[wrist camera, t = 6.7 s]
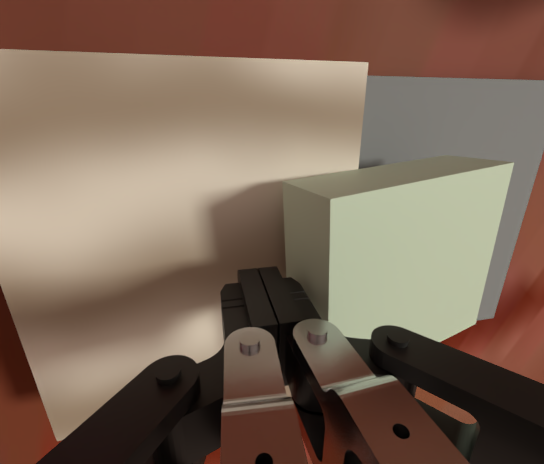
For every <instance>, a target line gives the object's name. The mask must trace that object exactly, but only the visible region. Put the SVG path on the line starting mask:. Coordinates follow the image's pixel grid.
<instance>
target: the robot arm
mask: <svg viewBox="0 0 544 464" xmlns="http://www.w3.org/2000/svg"><path fill="white" fill-rule="evenodd" d="M237 276H238V283H230V284H225V285H224V287H223V288H222V290H221V291H220V296H221V312H222V327H223V337H224V344H223V346H222V348H221V349H220V350H219V351H218V353H216V354H215V355H214V356H212V357H210V358H209V359H206V360H204V361H202V362H199V363H196V362H195V361H194V360H193V359H192V358H190V357H187V356H183V355H170V356H166V357H163V358H160V359H158V360H156V361H154V362H153V363H151V364H150V365H149V366H147V367H146V368H145V369H144V370H143V371H142V372H140V373H139V374H138V375H137V376H136V377H135V378H134V379H132V380H131V381H130V382H129V383H128V384H127V385H126V386H124V387H123V388H122V389H121V390H120V391H119V392H118V393H116V394H115V395H114V396H113V397H112V398H111V399H110V400H108V401H107V402H106V403H105V404H104V405H103V406H101V407H100V408H99V409H98V410H97V411H96V412H95V413H93V414H92V415H91V416H90V417H89V418H88V419H87V420H85V421H84V422H83V423H82V424H81V425H80V426H79V427H77V428H76V429H75V430H74V431H73V432H72V433H71V434H69V435H68V436H67V437H66V438H65V439H64V440H62V441H61V442H60V443H59V444H58V445H57V446H56V447H54V448H53V449H52V450H51V451H50V452H49V453H48V454H46V455H45V456H44V457H43V458H42V459H41V460H40V461H38V462H37V463H36V464H204V461H205V459H206V455H208V454H209V453H211V452H213V451H215V450H216V449H218V448H220V447H221V456H220V464H308V461H307V457H306V453H305V448H304V444H303V441H304V443H305V446H306V448H307V451H308V453H309V456H310V458H311V461H312V463H313V464H544V384H542V383H539V382H537V381H534V380H532V379H529V378H527V377H524V376H522V375H519V374H517V373H514V372H512V371H509V370H507V369H504V368H502V367H499V366H497V365H494V364H492V363H489V362H487V361H485V360H482V359H480V358H477V357H475V356H472V355H470V354H467V353H465V352H462V351H460V350H457V349H455V348H452V347H450V346H447V345H445V344H442V343H440V342H437V341H435V340H432V339H430V338H427V337H425V336H422V335H420V334H417V333H415V332H412V331H410V330H407V329H405V328H402V327H398V326H393V325H384V326H380V327H377V328H375V329H374V330H373V332H372V334H371V339H361V338H351V337H346V336H344V335H343V334H342V333H341V331H340V330H339V329H338V328H337V327H336V326H335V325H334V324H332V323H330V322H328V321H325V320H322V319H321V317H320V315H319V314H318V312H317V311H316V309H315V307H314V306H313V304H312V302H311V301H310V299H309V297H308V296H307V294H306V293H305V291H304V289H303V287H302V286H301V284H300V283H299V282H297V281H296V280H294V279H293V278H291V277H288V278H282V276H281V274H280V272H279V270H278V268H277V266H273V267H262V268H252V269H241V270H238V272H237ZM287 385H288V386H289V389H290V392H291V397H287V395H286V390H285V386H287ZM417 386H418V387H420V388H421V389H423V390H425V391H427V392H429V393H431V394H433V395H435V396H437V397H439V398H441V399H443V400H445V401H447V402H449V403H451V404H453V405H455V406H457V407H459V408H461V409H463V410H465V411H467V412H469V413H470V414H471V415H472V416H474V418H475V419H476V420H477V422H476V423H474V424H465V423H462V422H460V421H458V420H456V419H454V418H452V417H450V416H448V415H446V414H444V413H443V412H441V411H439V410H437V409H435V408H433V407H431V406H429V405H427V404H425V403H423V402H422V401H420V400H418V399H416V398H414V397H415V392H416V388H417ZM302 438H303V440H302Z"/></svg>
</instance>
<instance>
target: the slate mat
mask: <svg viewBox="0 0 544 464" xmlns="http://www.w3.org/2000/svg"><path fill="white" fill-rule="evenodd" d="M543 151H544V80H509V79H471V78H434V77H396V76H367V83H366V93H365V104H364V114H363V125H362V135H361V146H360V157H359V167H358V169H362V168H369V167H375V166H381V165H387V164H394V163H400V162H406V161H412V160H418V159H425V158H431V157H437V156H443V155H450V156H459V157H469V158H478V159H488V160H497V161H506V162H514V166H513V170H512V174H511V178H510V183H509V187H508V191H507V195H506V199H505V203H504V208H503V212H502V216H501V220H500V224H499V228H498V233H497V237H496V241H495V245H494V249H493V253H492V258H491V262H490V266H489V270H488V274H487V278H486V283H485V287H484V291H483V295H482V299H481V303H480V308H479V312H478V316H477V320H483V319H489V318H494V314H495V311H496V308H497V304H498V301H499V298H500V294H501V291H502V288H503V284H504V281H505V278H506V274H507V271H508V267H509V264H510V261H511V257H512V254H513V251H514V247H515V244H516V241H517V237H518V234H519V231H520V227H521V224H522V221H523V217H524V214H525V211H526V207H527V204H528V201H529V197H530V194H531V191H532V187H533V184H534V181H535V177H536V174H537V171H538V167H539V164H540V161H541V157H542V154H543Z"/></svg>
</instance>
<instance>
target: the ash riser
mask: <svg viewBox="0 0 544 464" xmlns="http://www.w3.org/2000/svg"><path fill="white" fill-rule="evenodd" d="M367 72H368V62H344V61H316V60H289V59H261V58H233V57H206V56H178V55H150V54H123V53H95V52H67V51H40V50H12V49H0V285H1V288H2V291H3V293H4V296H5V299H6V302H7V304H8V307H9V310H10V313H11V315H12V318H13V321H14V324H15V327H16V329H17V332H18V335H19V338H20V340H21V343H22V346H23V349H24V351H25V354H26V357H27V360H28V363H29V365H30V368H31V371H32V374H33V376H34V379H35V382H36V385H37V387H38V390H39V393H40V396H41V398H42V401H43V404H44V407H45V410H46V412H47V415H48V418H49V421H50V423H51V426H52V429H53V432H54V434H55V437H56V440H57V441H60V440H64V439H65V438H66V437H67V436H68V435H69V434H71V433H72V432H73V431H74V430H75V429H76V428H77V427H79V426H80V425H81V424H82V423H83V422H84V421H85V420H87V419H88V418H89V417H90V416H91V415H92V414H93V413H95V412H96V411H97V410H98V409H99V408H100V407H101V406H103V405H104V404H105V403H106V402H107V401H108V400H110V399H111V398H112V397H113V396H114V395H115V394H116V393H118V392H119V391H120V390H121V389H122V388H123V387H124V386H126V385H127V384H128V383H129V382H130V381H131V380H132V379H134V378H135V377H136V376H137V375H138V374H139V373H140V372H142V371H143V370H144V369H145V368H146V367H147V366H149V365H150V364H151V363H153V362H154V361H156V360H158V359H160V358H163V357H166V356H170V355H183V356H187V357H190V358H192V359H193V360H194V361H195V362H196V363H199V362H202V361H204V360H206V359H209V358H210V357H212V356H214V355H215V354H216V353H218V351H219V350H220V349H221V348H222V346H223V344H224V337H223V327H222V312H221V296H220V291H221V290H222V288H223V287H224V285H225V284H230V283H238V276H237V272H238V270H241V269H252V268H262V267H273V266H277V268H278V270H279V272H280V274H281V276H282V278H286V257H285V233H284V209H283V185H282V181H288V180H294V179H300V178H307V177H313V176H319V175H325V174H331V173H338V172H344V171H350V170H356V169H358V167H359V157H360V146H361V135H362V125H363V114H364V104H365V93H366V83H367ZM285 390H286V395H287V397H291V392H290V389H289V386H288V385H287V386H285Z"/></svg>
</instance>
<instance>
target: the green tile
mask: <svg viewBox="0 0 544 464" xmlns="http://www.w3.org/2000/svg"><path fill="white" fill-rule="evenodd" d="M513 166H514V162H506V161H497V160H488V159H478V158H469V157H459V156H450V155H443V156H437V157H431V158H425V159H418V160H412V161H406V162H400V163H394V164H387V165H381V166H375V167H369V168H362V169H356V170H350V171H344V172H338V173H331V174H325V175H319V176H313V177H307V178H300V179H294V180H288V181H282V185H283V209H284V233H285V257H286V278H288V277H291V278H293V279H294V280H296V281H297V282H299V283H300V284H301V286H302V287H303V289H304V291H305V293H306V294H307V296H308V297H309V299H310V301H311V302H312V304H313V306H314V307H315V309H316V311H317V312H318V314H319V315H320V317H321V319H322V320H325V321H328V322H330V323H332V324H334V325H335V326H336V327H337V328H338V329H339V330H340V331H341V333H342V334H343V335H344V336H346V337H351V338H361V339H371V334H372V332H373V330H374V329H375V328H377V327H380V326H384V325H393V326H398V327H402V328H405V329H407V330H410V331H412V332H415V333H417V334H420V335H422V336H425V337H427V338H430V339H432V340H435V341H437V342H441V341H443V340H445V339H447V338H449V337H451V336H453V335H455V334H457V333H459V332H461V331H462V330H464V329H466V328H468V327H470V326H472V325H474V324H476V320H477V316H478V312H479V308H480V303H481V299H482V295H483V291H484V287H485V283H486V278H487V274H488V270H489V266H490V262H491V258H492V253H493V249H494V245H495V241H496V237H497V233H498V228H499V224H500V220H501V216H502V212H503V208H504V203H505V199H506V195H507V191H508V187H509V183H510V178H511V174H512V170H513Z"/></svg>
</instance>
